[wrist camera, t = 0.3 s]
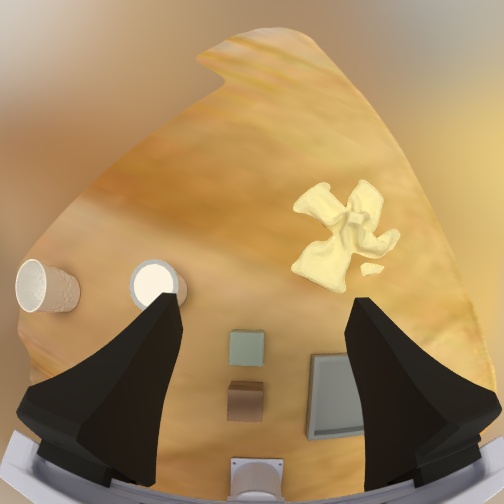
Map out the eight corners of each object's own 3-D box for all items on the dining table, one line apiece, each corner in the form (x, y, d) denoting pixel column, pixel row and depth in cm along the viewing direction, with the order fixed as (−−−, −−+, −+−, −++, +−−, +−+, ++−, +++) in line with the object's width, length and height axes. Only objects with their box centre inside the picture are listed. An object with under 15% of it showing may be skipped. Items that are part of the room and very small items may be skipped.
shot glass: (154, 318, 39) (135, 318, 32) (144, 275, 40) (124, 267, 34) (197, 306, 39) (184, 304, 32) (185, 262, 41) (171, 251, 34)
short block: (261, 410, 36) (262, 422, 31) (230, 408, 36) (227, 420, 31) (262, 382, 37) (263, 391, 32) (231, 380, 37) (227, 389, 32)
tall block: (262, 357, 37) (263, 366, 31) (234, 356, 38) (228, 364, 31) (263, 330, 38) (264, 333, 31) (234, 329, 38) (229, 331, 32)
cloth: (296, 303, 40) (302, 301, 34) (275, 186, 44) (278, 167, 38) (422, 277, 40) (442, 272, 34) (395, 176, 44) (409, 160, 38)
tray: (393, 422, 34) (400, 427, 31) (305, 434, 34) (307, 440, 32) (401, 348, 37) (409, 349, 34) (311, 354, 37) (314, 356, 35)
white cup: (47, 303, 40) (10, 298, 30) (60, 264, 41) (24, 251, 31) (75, 322, 39) (37, 321, 29) (89, 280, 40) (52, 270, 31)
